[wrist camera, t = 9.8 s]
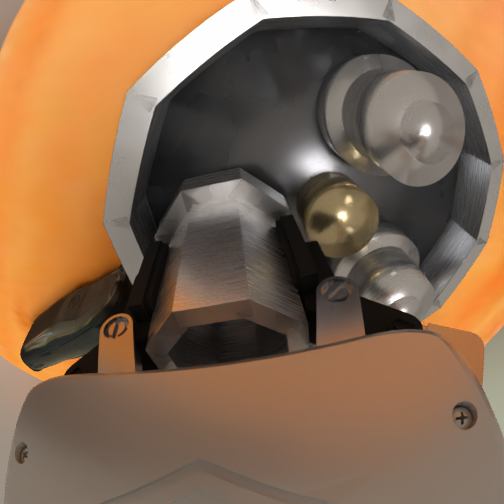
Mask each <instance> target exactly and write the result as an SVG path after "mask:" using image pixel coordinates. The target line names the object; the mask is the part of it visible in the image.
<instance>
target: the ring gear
mask: <svg viewBox="0 0 504 504" xmlns="http://www.w3.org/2000/svg"><path fill="white" fill-rule="evenodd" d="M310 27H341V28H358V29H360V30H362V31H363V32H365V33H367V34H368V35H370V36H372V37H373V38H375V39H377V40H378V41H380V42H381V43H383V44H384V45H386V46H388V47H389V48H391V49H392V50H394V51H395V52H396V53H398V54H399V55H401V56H402V57H404V58H405V59H406V60H408V61H409V62H411V63H412V64H413V65H415V66H416V67H417V68H418V69H420V70H421V71H423V72H428V73H431V74H434V75H436V76H438V77H440V78H441V79H443V80H444V81H445V82H446V83H447V84H448V85H449V86H450V87H451V88H452V89H453V91H454V92H455V94H456V95H457V97H458V99H459V101H460V104H461V106H462V109H463V114H464V119H465V138H464V143H463V147H462V150H461V153H460V156H459V162H458V172H457V181H456V189H455V196H454V202H453V208H452V214H451V218H450V220H449V222H448V224H447V225H446V227H445V229H444V230H443V232H442V233H441V235H440V237H439V238H438V240H437V242H436V243H435V245H434V246H433V248H432V249H431V251H430V252H429V254H428V255H427V257H426V258H425V260H424V261H423V263H422V264H421V266H420V267H419V269H420V270H421V271H422V273H423V274H424V275H425V277H426V278H427V279H428V281H429V282H430V283H431V285H432V286H433V288H434V300H433V303H432V306H431V308H430V310H429V311H428V313H427V314H426V315H425V317H424V318H423V319H422V320H421V321H423V320H424V319H426V318H427V317H428V316H430V315H431V314H433V313H434V312H435V311H437V310H438V309H439V308H441V307H442V305H443V304H444V303H445V302H446V300H447V299H448V298H449V297H450V295H451V294H452V293H453V291H454V290H455V289H456V287H457V286H458V285H459V283H460V282H461V280H462V279H463V278H464V276H465V275H466V273H467V272H468V271H469V269H470V268H471V266H472V265H473V263H474V262H475V260H476V259H477V257H478V256H479V254H480V253H481V251H482V249H483V248H484V246H485V245H486V243H487V240H488V237H489V233H490V229H491V225H492V221H493V217H494V213H495V209H496V204H497V199H498V194H499V189H500V183H501V177H502V170H503V163H504V159H503V154H502V149H501V145H500V140H499V136H498V132H497V128H496V124H495V121H494V117H493V114H492V110H491V107H490V104H489V101H488V98H487V95H486V92H485V89H484V86H483V83H482V81H481V78H480V76H479V73H478V70H477V69H476V68H475V67H474V66H473V65H472V64H471V63H470V62H469V61H468V60H467V59H466V58H465V57H464V56H463V55H462V54H461V53H460V52H459V51H458V50H457V49H456V48H455V47H454V46H453V45H452V44H451V43H450V42H449V41H447V40H446V39H445V38H444V37H443V36H442V35H441V34H440V33H438V32H437V31H436V30H435V29H434V28H433V27H431V26H430V25H429V24H428V23H426V22H425V21H424V20H423V19H421V18H420V17H419V16H417V15H416V14H415V13H414V12H412V11H411V10H409V9H408V8H407V7H405V6H404V5H403V4H401V3H400V2H398V1H397V0H235V1H233V2H232V3H230V4H229V5H227V6H226V7H224V8H223V9H221V10H220V11H219V12H217V13H216V14H214V15H213V16H212V17H210V18H209V19H208V20H206V21H205V22H204V23H202V24H201V25H200V26H198V27H197V28H196V29H195V30H193V31H192V32H191V33H190V34H188V35H187V36H186V37H185V38H184V39H182V40H181V41H180V42H179V43H178V44H176V45H175V46H174V47H173V48H172V49H171V50H170V51H168V52H167V53H166V54H165V55H164V56H163V57H162V58H161V59H160V60H159V61H158V62H156V63H155V64H154V65H153V66H152V67H151V68H150V69H149V70H148V71H147V72H146V73H145V74H144V75H143V76H142V77H141V78H140V79H139V80H138V81H137V82H136V83H135V84H134V85H133V86H132V87H131V88H130V90H129V91H128V92H127V95H126V99H125V102H124V106H123V110H122V114H121V118H120V122H119V127H118V131H117V136H116V141H115V145H114V150H113V156H112V161H111V167H110V173H109V179H108V186H107V193H106V200H105V209H104V218H103V224H104V226H105V228H106V231H107V233H108V235H109V237H110V240H111V242H112V244H113V246H114V248H115V251H116V253H117V255H118V257H119V259H120V261H121V263H122V265H123V267H124V269H125V271H126V273H127V275H128V277H129V279H130V281H131V283H132V285H133V283H134V280H135V277H136V275H138V272H139V269H140V267H141V264H142V261H143V258H144V255H145V253H146V250H147V247H148V244H149V243H150V242H155V241H156V240H155V237H154V236H155V234H156V231H157V226H156V223H155V221H154V218H153V215H152V212H151V210H150V207H149V204H148V201H147V198H146V195H145V194H146V190H147V185H148V181H149V176H150V172H151V168H152V164H153V159H154V155H155V152H156V148H157V144H158V140H159V136H160V133H161V129H162V126H163V122H164V119H165V115H166V112H167V109H168V106H169V102H170V100H171V99H172V98H173V97H174V96H175V95H176V94H177V93H179V92H180V91H181V90H182V89H183V88H184V87H185V86H186V85H187V84H189V83H190V82H191V81H192V80H193V79H194V78H195V77H197V76H198V75H199V74H200V73H201V72H202V71H204V70H205V69H206V68H207V67H208V66H210V65H211V64H212V63H213V62H215V61H216V60H217V59H218V58H220V57H221V56H222V55H224V54H225V53H226V52H227V51H229V50H230V49H231V48H233V47H234V46H235V45H237V44H238V43H239V42H241V41H242V40H244V39H245V38H246V37H248V36H249V35H251V34H252V33H254V32H257V31H266V30H276V29H289V28H310ZM421 321H420V322H421ZM315 346H316V345H315V344H313V343H310V342H309V348H311V347H315Z"/></svg>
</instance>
